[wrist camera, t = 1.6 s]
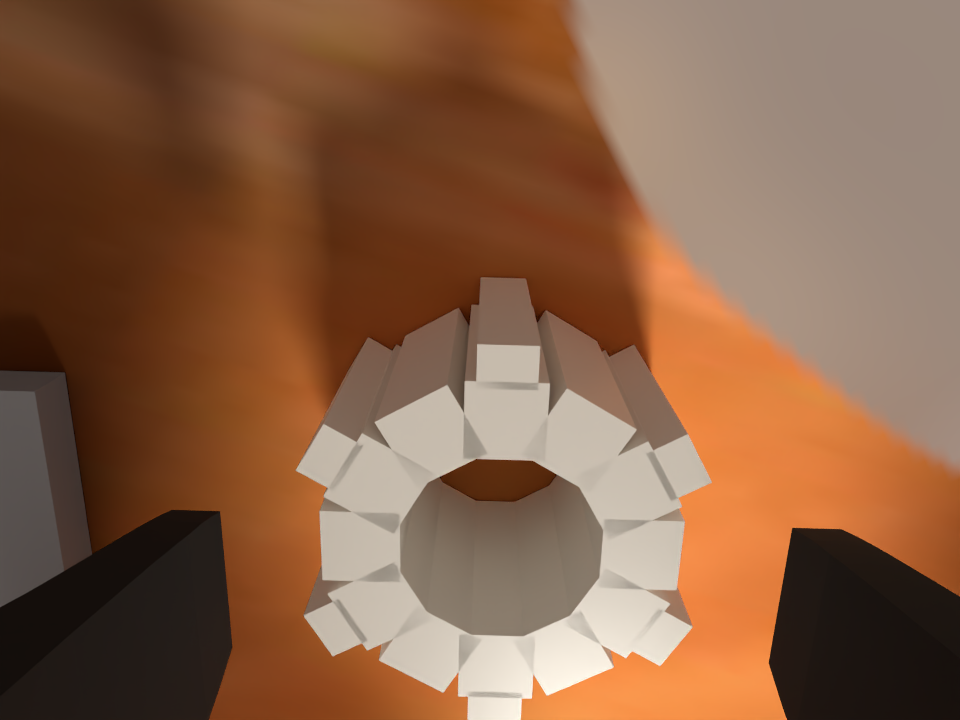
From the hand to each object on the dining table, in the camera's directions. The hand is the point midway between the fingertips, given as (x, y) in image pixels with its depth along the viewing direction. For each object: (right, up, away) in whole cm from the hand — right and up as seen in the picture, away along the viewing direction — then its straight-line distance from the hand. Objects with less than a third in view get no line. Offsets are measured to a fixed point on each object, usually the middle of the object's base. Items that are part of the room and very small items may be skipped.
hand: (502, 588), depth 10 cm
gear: (0, +1, +5) cm, 5 cm away
